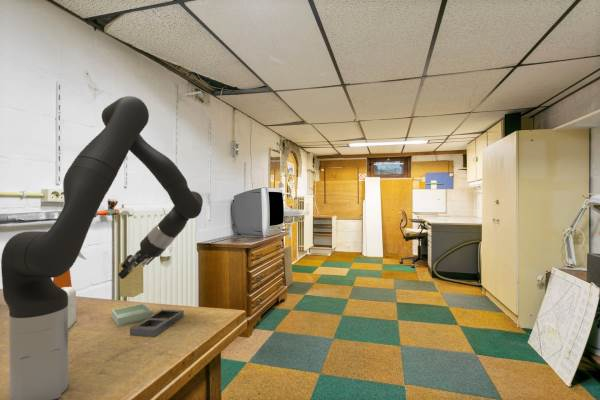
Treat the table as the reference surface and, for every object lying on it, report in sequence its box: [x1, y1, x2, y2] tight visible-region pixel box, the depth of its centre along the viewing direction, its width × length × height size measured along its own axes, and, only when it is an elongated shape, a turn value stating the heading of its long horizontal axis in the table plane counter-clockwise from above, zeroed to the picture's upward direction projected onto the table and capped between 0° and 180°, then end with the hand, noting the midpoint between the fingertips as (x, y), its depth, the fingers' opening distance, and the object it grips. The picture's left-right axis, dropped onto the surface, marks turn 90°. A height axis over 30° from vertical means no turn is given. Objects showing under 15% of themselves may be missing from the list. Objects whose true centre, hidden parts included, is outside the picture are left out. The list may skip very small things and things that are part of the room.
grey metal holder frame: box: [129, 308, 185, 338], centre depth 98 cm, size 8×16×2 cm, turn 171°
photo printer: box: [61, 286, 77, 329], centre depth 96 cm, size 10×4×12 cm, turn 17°
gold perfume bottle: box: [118, 254, 144, 298], centre depth 104 cm, size 5×5×13 cm
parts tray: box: [111, 303, 153, 327], centre depth 104 cm, size 10×10×2 cm
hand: (126, 274), depth 104 cm, fingers closed on gold perfume bottle, 5 cm apart
